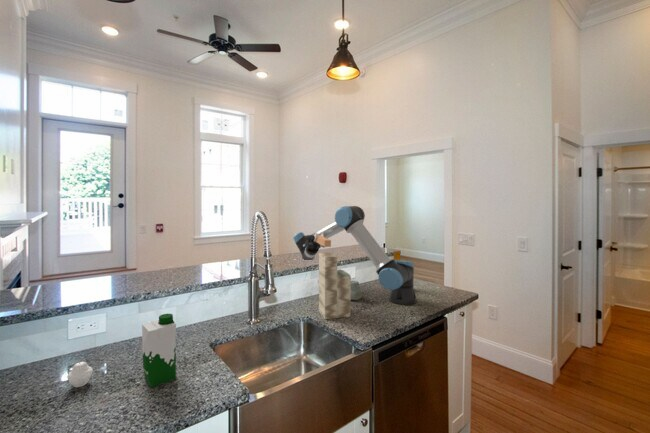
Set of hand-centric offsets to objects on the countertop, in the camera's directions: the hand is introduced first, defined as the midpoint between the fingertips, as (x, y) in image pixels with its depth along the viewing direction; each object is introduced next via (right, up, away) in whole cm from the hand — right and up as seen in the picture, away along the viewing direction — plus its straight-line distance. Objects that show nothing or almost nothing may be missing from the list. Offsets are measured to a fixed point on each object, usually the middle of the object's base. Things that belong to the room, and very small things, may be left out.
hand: (319, 234), depth 168 cm
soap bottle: (+49, -37, +31) cm, 69 cm away
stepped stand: (+7, -39, -13) cm, 42 cm away
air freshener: (+19, -38, +10) cm, 44 cm away
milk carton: (-50, -42, -70) cm, 96 cm away
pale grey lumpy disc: (-73, -42, -73) cm, 111 cm away
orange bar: (+1, -5, -4) cm, 6 cm away
